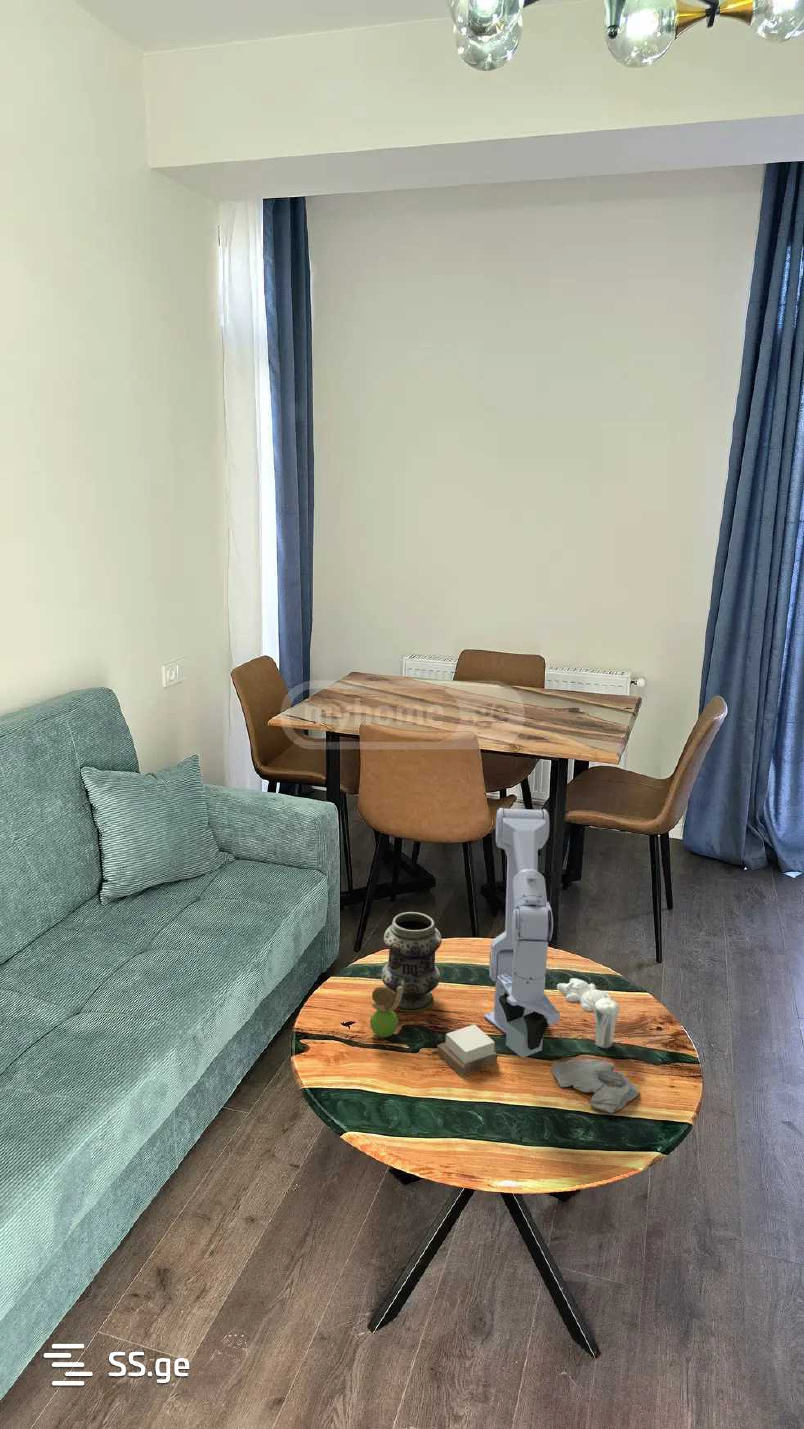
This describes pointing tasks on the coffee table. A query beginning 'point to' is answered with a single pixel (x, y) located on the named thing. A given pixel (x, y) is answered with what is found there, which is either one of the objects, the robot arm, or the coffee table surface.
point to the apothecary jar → (412, 960)
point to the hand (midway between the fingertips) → (524, 1040)
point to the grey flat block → (459, 1065)
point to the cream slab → (470, 1044)
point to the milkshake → (605, 1021)
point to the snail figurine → (385, 1010)
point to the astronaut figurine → (582, 993)
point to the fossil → (596, 1082)
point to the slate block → (519, 1038)
